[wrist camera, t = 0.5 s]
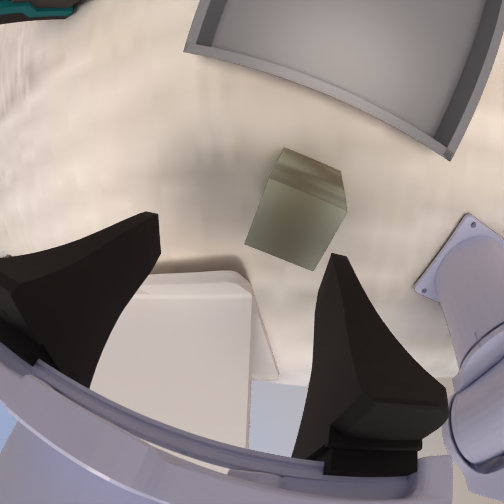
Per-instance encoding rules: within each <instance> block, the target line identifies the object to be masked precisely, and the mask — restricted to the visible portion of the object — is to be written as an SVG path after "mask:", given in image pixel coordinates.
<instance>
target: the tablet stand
mask: <svg viewBox="0 0 504 504" xmlns="http://www.w3.org/2000/svg"><path fill="white" fill-rule="evenodd" d="M278 378H279V370H278V367H277V364H276V361H275V358H274V355H273V352H272V348H271V345H270V342H269V339H268V336H267V333H266V330H265V327H264V324H263V320H262V317H261V314H260V311H259V308H258V305H257V302H256V298H255V295H254V292H253V289H252V286H251V284H250V283H249V282H248V281H247V280H246V279H245V278H244V277H242V276H241V275H240V274H239V273H238V272H235V271H229V270H224V271H207V272H189V273H170V274H150V275H148V277H147V278H146V279H145V281H144V282H143V283H142V285H141V286H140V288H139V289H138V290H137V292H136V293H135V294H134V296H133V297H132V299H131V300H130V301H129V303H128V304H127V306H126V307H125V308H124V310H123V312H122V313H121V315H120V317H119V318H118V320H117V322H116V324H115V326H114V328H113V330H112V332H111V334H110V336H109V338H108V340H107V343H106V345H105V347H104V349H103V352H102V354H101V357H100V359H99V362H98V364H97V367H96V370H95V373H94V376H93V379H92V382H91V385H90V390H92V391H94V392H96V393H98V394H100V395H102V396H103V397H105V398H107V399H109V400H111V401H114V402H116V403H118V404H120V405H122V406H124V407H126V408H128V409H131V410H133V411H135V412H137V413H140V414H142V415H144V416H147V417H149V418H152V419H154V420H157V421H159V422H162V423H164V424H167V425H170V426H172V427H175V428H178V429H181V430H184V431H187V432H190V433H193V434H196V435H199V436H202V437H205V438H208V439H212V440H215V441H219V442H222V443H226V444H230V445H234V446H237V447H241V448H246V449H248V448H249V427H250V425H249V424H250V404H251V381H252V379H261V380H277V379H278ZM140 439H141V438H140ZM141 440H143V439H141ZM143 441H145V440H143ZM145 442H146V443H148V444H149V445H151V446H154V447H156V448H158V449H160V450H163V451H165V452H167V453H170V454H172V455H174V456H177V457H179V458H182V459H184V460H187V461H189V462H192V463H194V464H197V465H200V466H202V467H205V468H208V469H211V470H214V471H217V472H220V473H223V474H226V475H227V473H228V471H229V470H231V469H228V468H224V467H220V466H217V465H213V464H210V463H206V462H203V461H200V460H197V459H193V458H190V457H187V456H184V455H182V454H179V453H176V452H173V451H170V450H168V449H165V448H163V447H160V446H157V445H155V444H153V443H150V442H148V441H145Z"/></svg>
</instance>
